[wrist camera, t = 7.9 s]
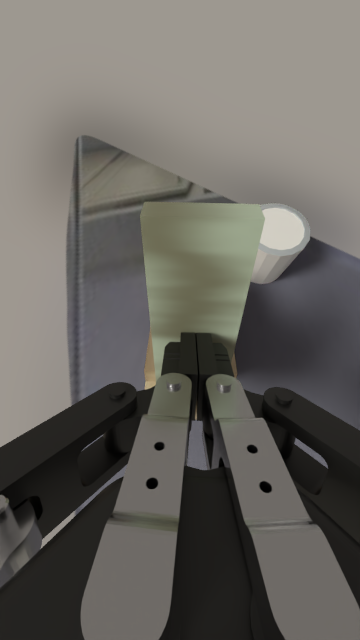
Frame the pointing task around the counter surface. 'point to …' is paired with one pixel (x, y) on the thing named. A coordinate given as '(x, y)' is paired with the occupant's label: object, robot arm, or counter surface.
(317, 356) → the counter surface
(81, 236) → the counter surface
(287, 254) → the white cylinder
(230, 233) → the ramp
